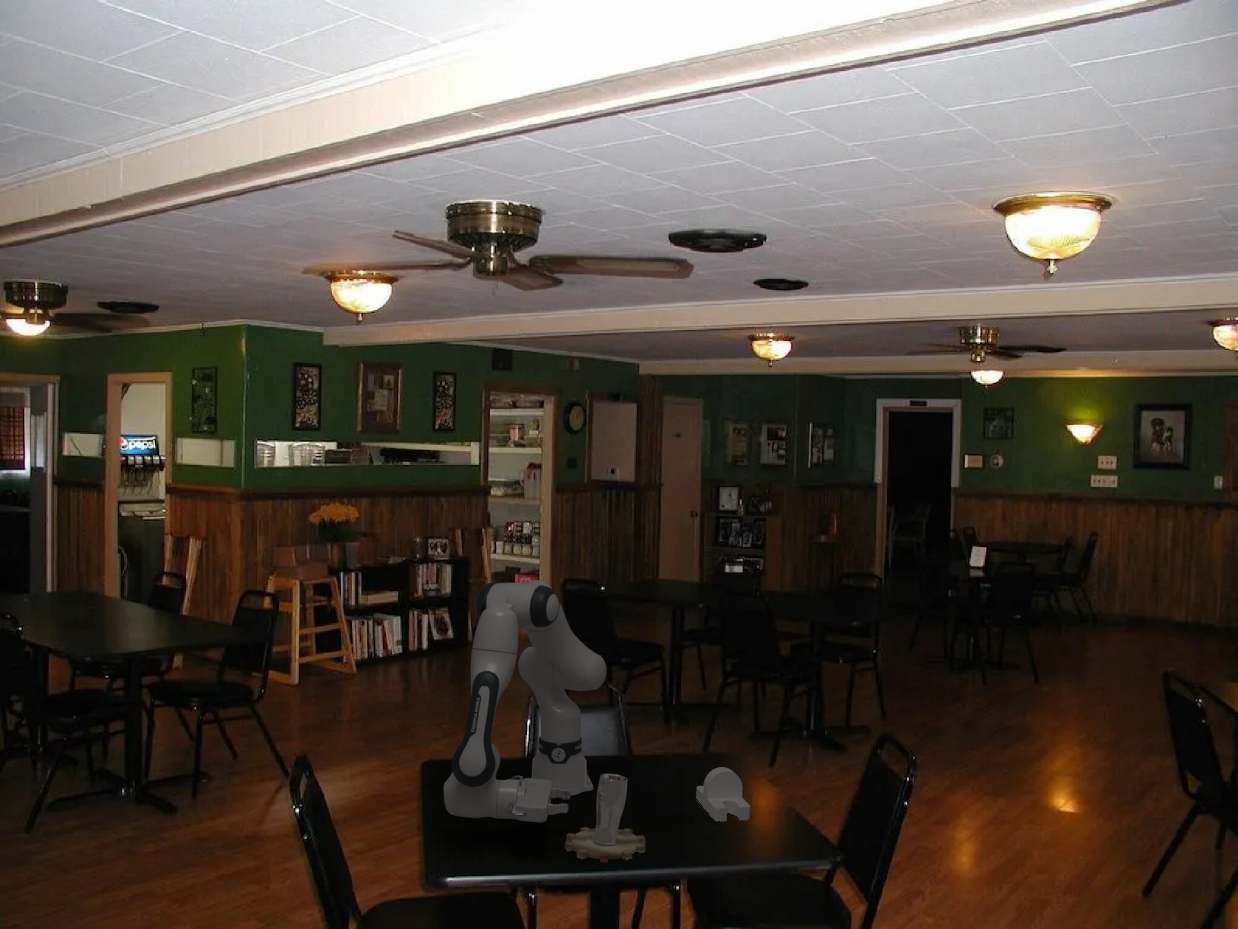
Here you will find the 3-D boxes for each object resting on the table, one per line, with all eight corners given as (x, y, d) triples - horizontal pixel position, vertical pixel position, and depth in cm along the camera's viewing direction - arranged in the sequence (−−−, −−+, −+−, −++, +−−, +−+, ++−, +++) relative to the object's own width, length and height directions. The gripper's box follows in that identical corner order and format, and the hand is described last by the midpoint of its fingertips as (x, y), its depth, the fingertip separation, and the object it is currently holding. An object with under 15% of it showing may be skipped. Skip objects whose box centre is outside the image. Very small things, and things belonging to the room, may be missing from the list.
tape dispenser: (715, 822, 281) (716, 781, 281) (695, 799, 299) (696, 760, 298) (750, 820, 283) (752, 779, 283) (728, 797, 301) (730, 758, 301)
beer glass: (584, 837, 261) (593, 774, 262) (605, 834, 266) (613, 772, 267) (605, 847, 256) (614, 782, 257) (625, 843, 261) (634, 780, 262)
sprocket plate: (568, 830, 272) (568, 824, 272) (644, 832, 272) (645, 826, 272) (562, 861, 253) (563, 854, 253) (645, 863, 253) (645, 857, 253)
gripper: (506, 801, 252) (566, 803, 252) (516, 773, 273) (571, 775, 272) (505, 828, 252) (566, 830, 252) (515, 798, 273) (571, 800, 273)
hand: (569, 801), depth 262 cm, fingers open, 8 cm apart
